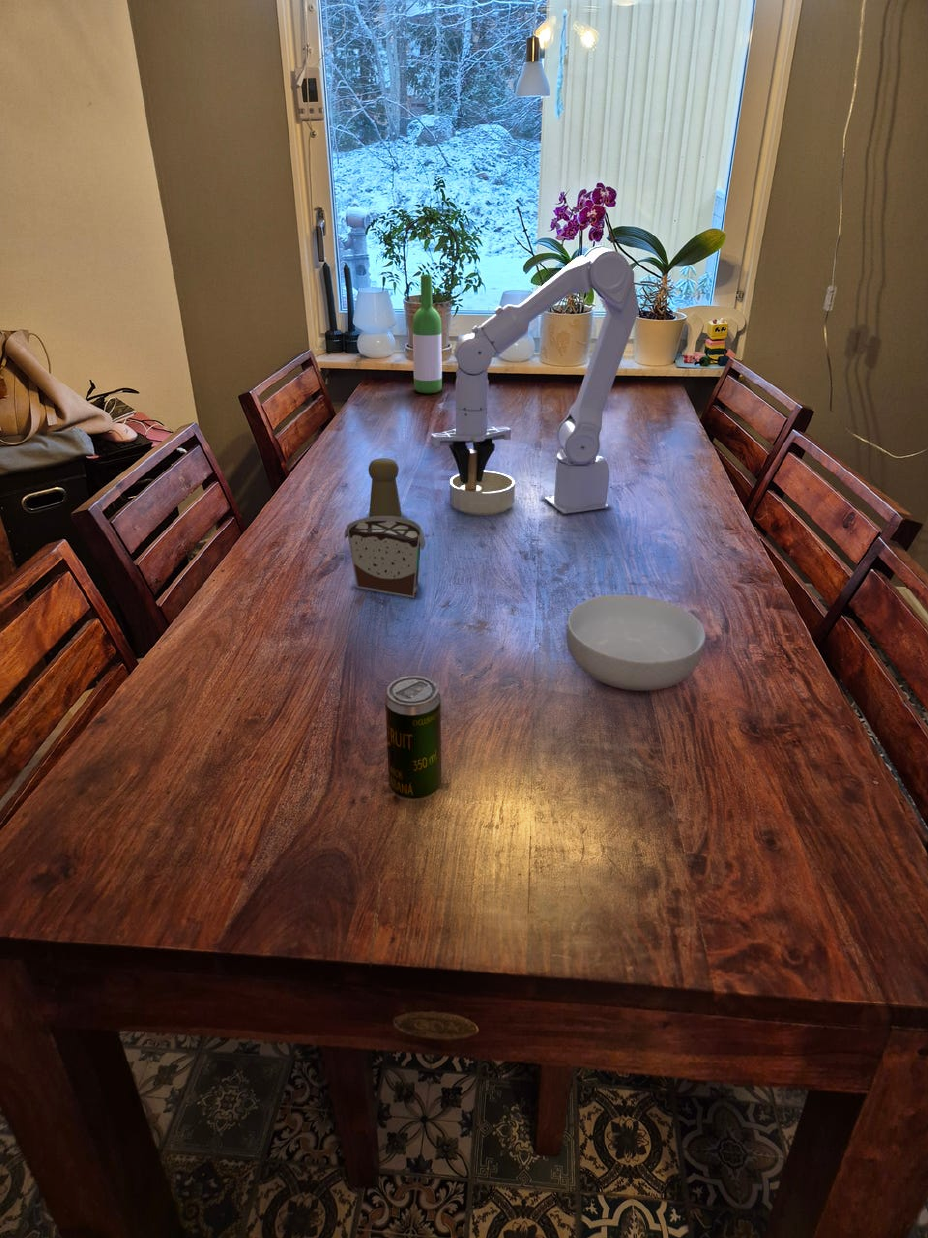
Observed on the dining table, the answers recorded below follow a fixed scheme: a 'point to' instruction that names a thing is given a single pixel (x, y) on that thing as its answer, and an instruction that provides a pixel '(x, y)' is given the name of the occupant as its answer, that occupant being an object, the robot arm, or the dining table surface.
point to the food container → (386, 554)
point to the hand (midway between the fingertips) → (470, 480)
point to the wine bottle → (427, 342)
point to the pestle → (472, 473)
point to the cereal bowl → (635, 641)
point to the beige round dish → (484, 494)
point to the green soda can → (413, 738)
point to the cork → (384, 488)
